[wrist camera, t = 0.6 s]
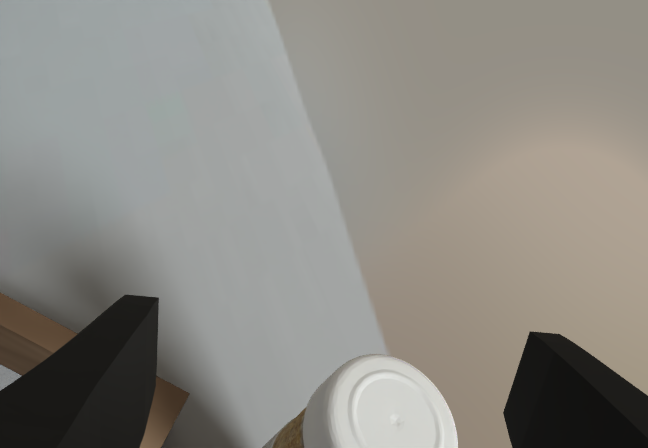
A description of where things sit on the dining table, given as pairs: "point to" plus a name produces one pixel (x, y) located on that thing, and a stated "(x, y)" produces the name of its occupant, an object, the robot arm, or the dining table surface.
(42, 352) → the walnut stall
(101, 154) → the dining table surface
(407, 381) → the sprinkles bottle
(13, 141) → the dining table surface
